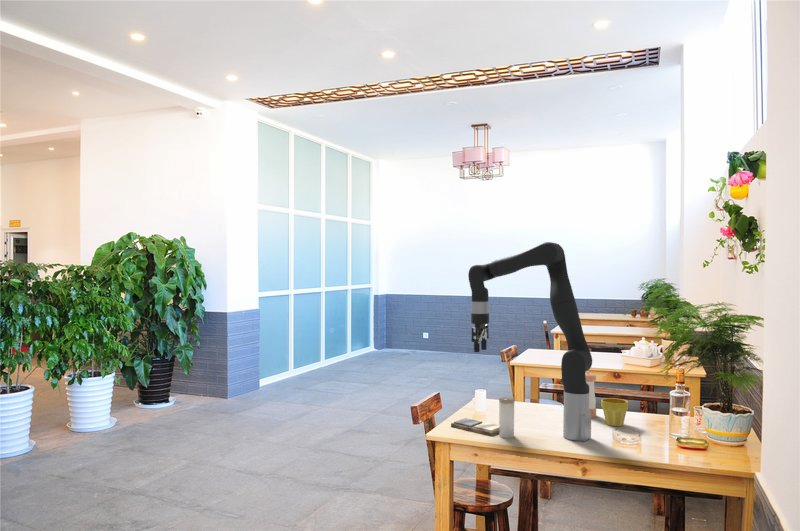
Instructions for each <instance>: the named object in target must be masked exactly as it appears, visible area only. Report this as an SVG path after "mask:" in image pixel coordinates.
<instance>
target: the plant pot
mask: <svg viewBox="0 0 800 531" xmlns="http://www.w3.org/2000/svg"><path fill="white" fill-rule="evenodd" d="M600 401H601V402H600V405H601V407H600V408H601V409H602V411H603V415H604V419H605V424H606V425H607V426H611V427H623V426H624V424H625V418H626V414H627V411H628V410H629V400H626V399H623V398H617V397H616V398H615V397H606V398H605V397H604V398H602V399H601V400H600Z"/></svg>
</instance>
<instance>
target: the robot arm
mask: <svg viewBox="0 0 800 531" xmlns="http://www.w3.org/2000/svg"><path fill="white" fill-rule="evenodd" d="M537 266H538V267H539V266H545V267H546V269H547V272H548V275H549V280H550V282H549V283H550V287H549V288H550V289H549V299H550V300H549V302H550V306H551V310H552V314H553V317H554V320H555V322H556V323H557V325H558V326H559V328H560V331H561V332H562V334H563V335H564V337H565V339H566V340H565V341H566V343H567V344H566V345H567V348H568V350H567V351H566V352H564V354H563V355H562V358H561V365H560V366H561V383H562V387H563V423H562V424H563V426H562V427H563V430H562V431H563V433H562V434H563V438H565V439H567V440H571V441H581V442H585V441H587V440H589V439H591V438H592V418H591V412H589V385H588V384H587V383H586V375H585V373H586V371H589V370H591V368H592V365H593V358H592V353H591V350H590V348H589V346H588V342H587V340H586V337H585V334H584V331H583V327H582V322H581V318H580V314H579V311H578V306H577V302H576V298H575V296H574V291H573V288H572V284H571V282H570V278H569V274H568V273H569V272H568V269H567V261H566V255H565V251H564V249H563V246H562V245H560V244H558V243H557V242H550V241H546V242H542V243H541V244H537V246H534V247H532V248H530V249H528V250H526V251H522V252H520V253H517V254H513V255H509V256H504V257H502V258H498V259H494V260H492V261H491V262H489V263H485V264H474V265H472V266H470V268H469V269H468V270H469V271H468V273H467V274H468V282H469V287H470V289H471V305H470V311H471V312H470V320H471V324H473V325H474V326H472V327H471V342H472V343H473V352H474V353H480V352H481V351H480V350H482V351H486V350H487V346H488V345H487V343H488V342H487V341H488V340H489V338H490V337H489V336H490V335H489V334H490V330H489V325H488V324H489V323H490V304H489V289H488V288H487V287H485V282H487V281H490V280H493V279H495V278H498V277H503V276H507V275H511V274H513V273H516V272H519V271H520V270H522V269H525V268H529V267H537Z"/></svg>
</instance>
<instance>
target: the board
mask: <svg viewBox="0 0 800 531" xmlns="http://www.w3.org/2000/svg"><path fill="white" fill-rule="evenodd" d="M450 427H452V428H454V429H455V428H456V429H460V430H465V431H469V432H473V433H477V434H482V435H486V436H491V437H493V436H495V435H497V434H498V435H499V424H495V423H491V422H490V423H489V422H487V421H485V422H483V421H481V420H480V421H479V420H476V419H471V418H467V417H463V418H460V419H457V420H456V421H453V422H451V423H450Z"/></svg>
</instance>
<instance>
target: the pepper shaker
mask: <svg viewBox="0 0 800 531" xmlns="http://www.w3.org/2000/svg"><path fill="white" fill-rule="evenodd" d="M585 375H586V383H587V384H588V385H589V412H591V419H592V418H597V407H596V402H597V400H596V394H595V381H597V376H596V375H595V374H594V373H593V372H592V373H591V372H590V371H589V370H588V371H586V372H585Z"/></svg>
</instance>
